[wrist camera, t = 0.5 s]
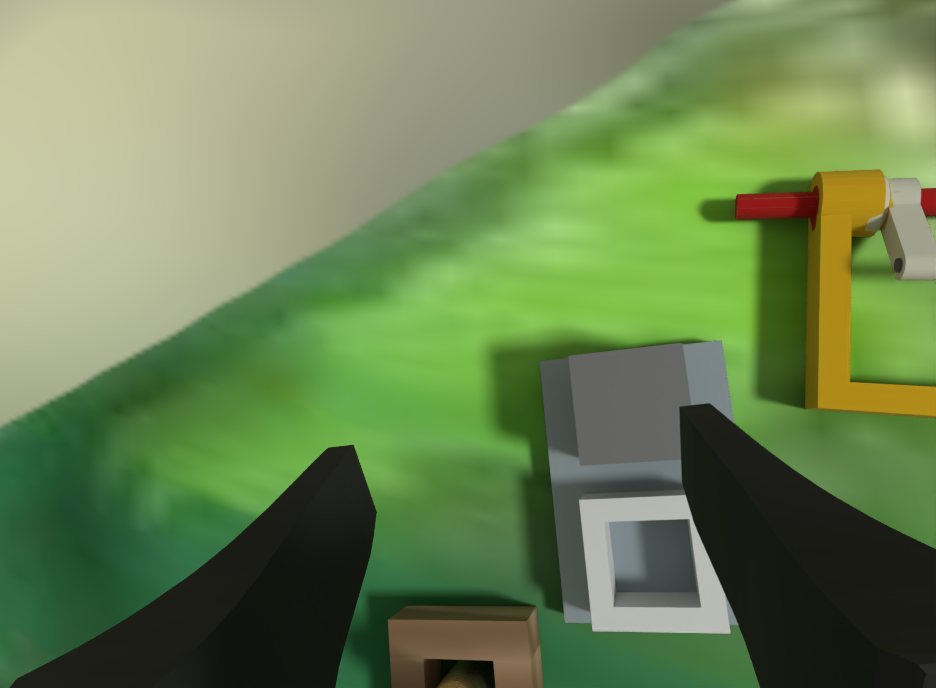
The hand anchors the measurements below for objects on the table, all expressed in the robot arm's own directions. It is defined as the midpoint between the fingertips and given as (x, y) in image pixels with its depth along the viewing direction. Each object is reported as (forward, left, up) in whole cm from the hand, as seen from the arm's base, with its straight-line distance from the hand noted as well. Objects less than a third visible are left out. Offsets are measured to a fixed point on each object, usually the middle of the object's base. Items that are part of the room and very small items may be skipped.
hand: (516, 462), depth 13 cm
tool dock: (-3, -2, -26) cm, 26 cm away
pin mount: (-15, +10, -26) cm, 32 cm away
